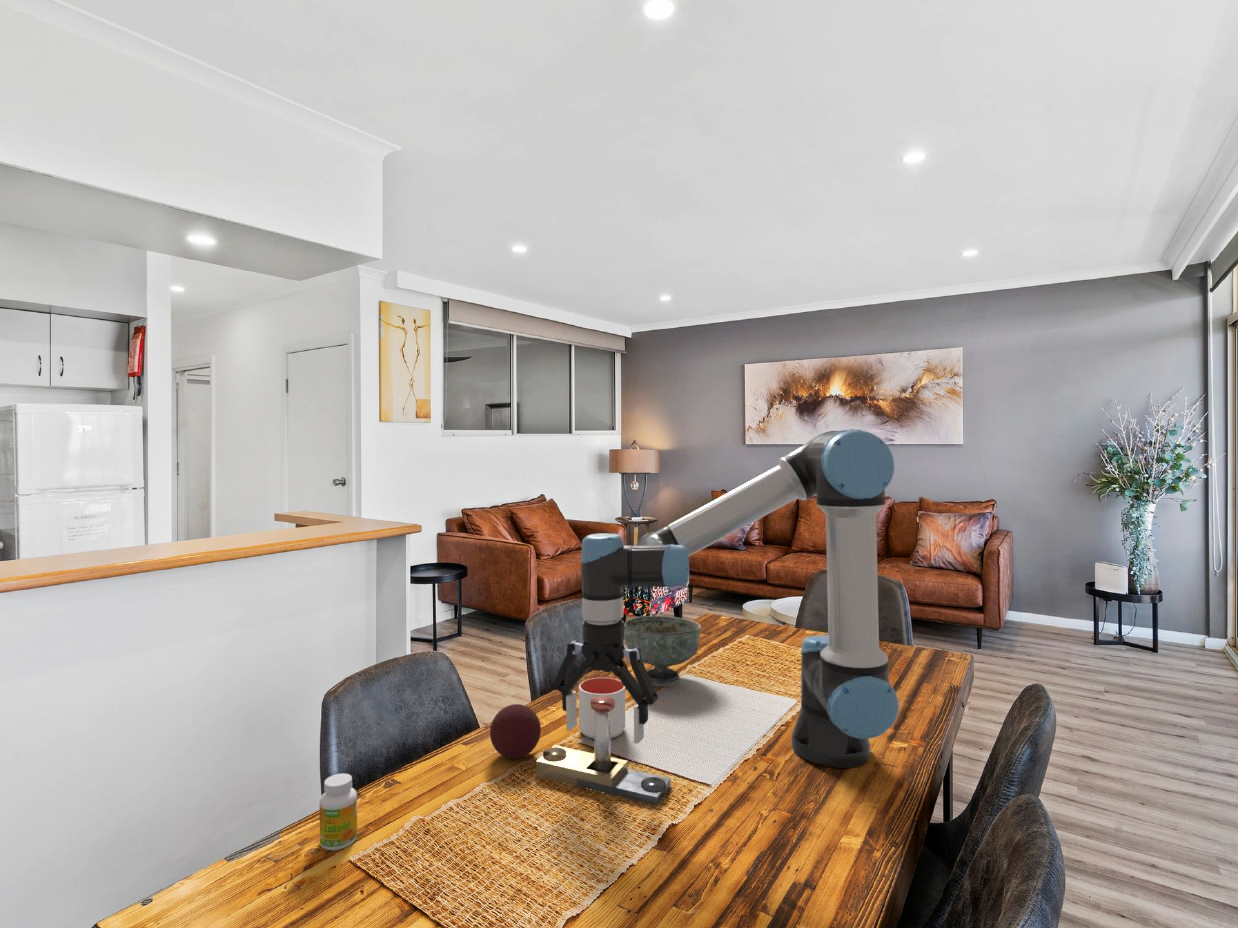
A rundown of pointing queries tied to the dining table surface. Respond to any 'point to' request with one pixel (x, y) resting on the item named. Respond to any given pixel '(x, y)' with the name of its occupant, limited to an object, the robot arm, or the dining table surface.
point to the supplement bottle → (338, 813)
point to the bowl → (663, 644)
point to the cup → (598, 689)
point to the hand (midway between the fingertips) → (604, 734)
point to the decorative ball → (515, 731)
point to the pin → (602, 733)
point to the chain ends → (600, 775)
